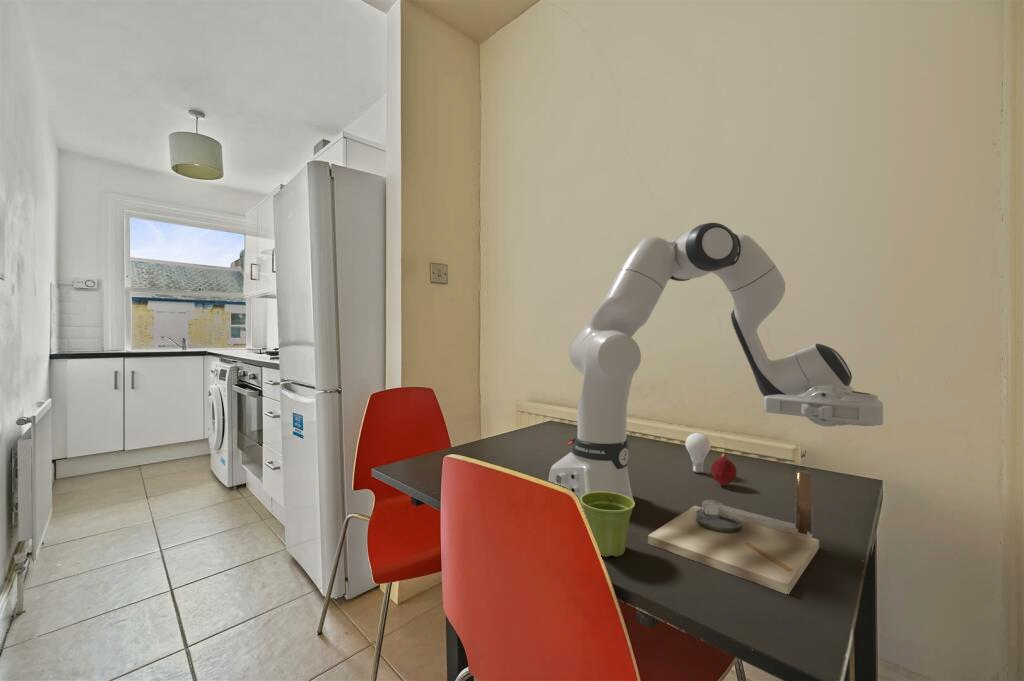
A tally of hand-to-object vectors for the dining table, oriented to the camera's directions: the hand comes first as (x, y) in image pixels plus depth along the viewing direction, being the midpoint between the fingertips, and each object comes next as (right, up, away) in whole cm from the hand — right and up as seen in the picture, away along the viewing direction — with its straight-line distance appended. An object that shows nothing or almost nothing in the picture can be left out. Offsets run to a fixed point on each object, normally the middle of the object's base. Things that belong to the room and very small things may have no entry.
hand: (812, 412), depth 85 cm
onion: (-6, -23, +24) cm, 34 cm away
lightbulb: (-8, -23, +35) cm, 42 cm away
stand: (-19, -23, -7) cm, 31 cm away
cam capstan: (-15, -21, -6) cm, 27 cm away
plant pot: (-42, -23, -8) cm, 49 cm away
